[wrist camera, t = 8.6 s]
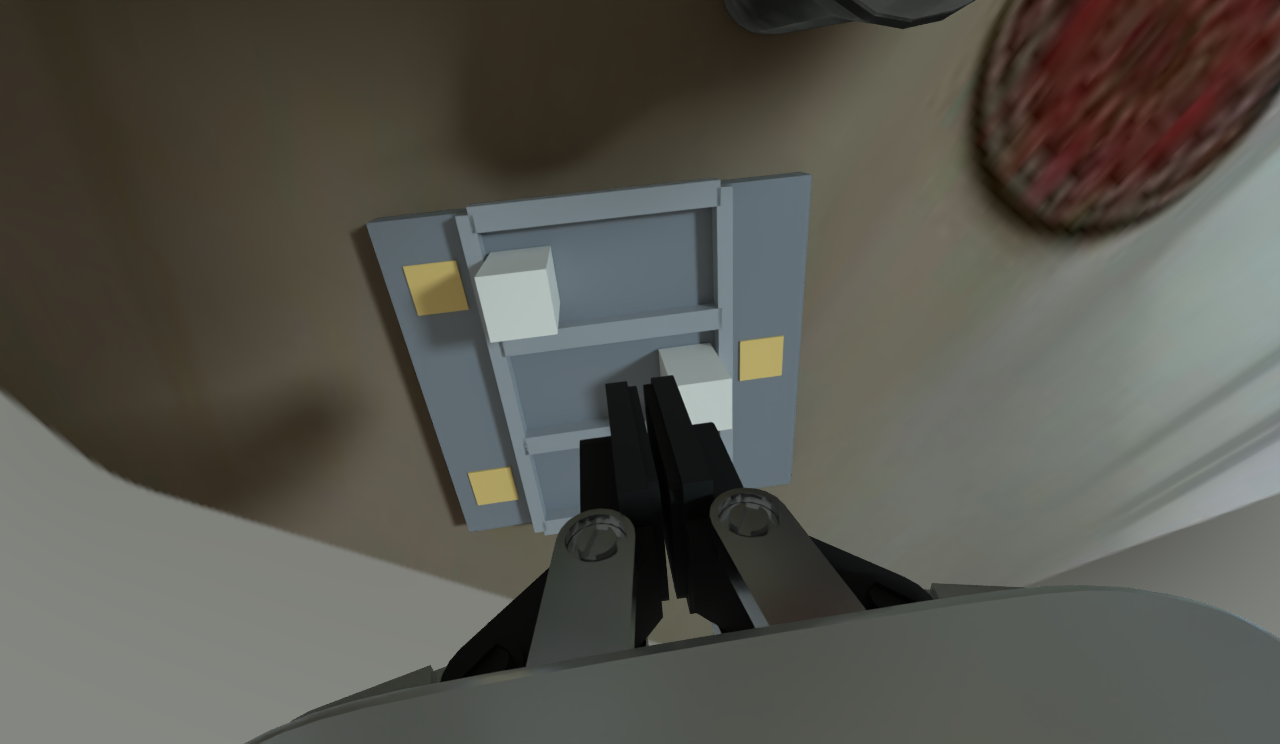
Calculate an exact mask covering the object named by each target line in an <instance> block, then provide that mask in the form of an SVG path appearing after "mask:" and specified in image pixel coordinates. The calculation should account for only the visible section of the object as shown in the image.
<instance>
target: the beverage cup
mask: <svg viewBox="0 0 1280 744" xmlns="http://www.w3.org/2000/svg"><path fill="white" fill-rule="evenodd" d="M973 1H975V0H724V3H725V5H726V8H727V11H728V12H729V13H730V15H731V16H732V17H733V19H734V20H735V21H736V23H737V24H738V25H740V26H741V27H743V28H745V29H746V30H748V31H749V32H753V33H759V34H764V35H765V34H769V33H771V34H781V33H787V32H793V31H799V30H805V29H811V28H817V27H823V26H828V25H834V24H840V23H846V22H852V21H859V22H865V23H872V24H878V25H884V26H889V27H895V28H900V29H905V28H909V27H914V26H918V25H923V24H927V23H932V22H936V21H941V20H943V19H945V18H947V17H948V16H950V15H952V14H953V13H955V12H957V11H958V10H960V9H962V8H963V7H965V6H967V5H968V4H970V3H972V2H973Z"/></svg>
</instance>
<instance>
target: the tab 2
mask: <svg viewBox="0 0 1280 744" xmlns="http://www.w3.org/2000/svg"><path fill="white" fill-rule="evenodd" d="M658 351H659V364H660V377H661V376H669V375H673V376H674V378H675V381H676V384H677V386H678V389H679V391H680V394H681V397H682V399H683V402H684V404H685V407H686V410H687V412H688V415H689V417H690V420H691V423H692V425H693V424H701V423H708V422H713V423H714V424H715V426H716V428H717V430H718V431H721V430H728V429H732V378H731V376H730V374H729V373H728V371H727V370H726V368H725V366H724V365H723V363H722V362H721V360H720V358H719V357H718V355H717V353H716V352H715V350H714V349H713V347H712V345H711V344H710V343H702V344H695V345H687V346H679V347H672V348H664V349H658Z"/></svg>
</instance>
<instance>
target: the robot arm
mask: <svg viewBox="0 0 1280 744" xmlns="http://www.w3.org/2000/svg"><path fill="white" fill-rule="evenodd" d="M605 388H606V397H607V406H608V415H609V424H610V433H611V436H606V437H598V438H591V439H584V440H580V514H577V515H576V516H574V517H573V518H571V519H570V520H568V521H567V522H566V523H565V525H564V526H563V527H562V528H561V529H560V531H559V534H558V536H557V538H556V542H555V547H554V551H553V555H552V559H551V563H550V567H549V568H548V569H547V570H546V571H545V572H544V573H543V574H542V575H540V576H539V577H538V578H537V579H536V580H535V581H534V582H533V583H532V584H531V585H530V586H528V587H527V588H526V589H525V590H524V591H523V592H522V593H521V594H520V595H519V596H518V597H516V598H515V599H514V600H513V601H512V602H511V603H510V604H509V605H508V606H507V607H506V608H504V609H503V610H502V611H501V612H500V613H499V614H498V615H497V616H496V617H495V618H494V619H492V620H491V621H490V622H489V623H488V624H487V625H486V626H485V627H484V628H482V629H481V630H480V631H479V632H478V633H477V634H476V635H475V636H474V637H473V638H472V639H470V640H469V641H468V642H467V643H466V644H465V645H464V646H463V647H462V648H461V649H460V650H459V651H458V652H457V653H456V654H455V656H454V657H453V658H452V659H451V660H450V661H449V663H448V665H447V666H446V667H444V668H441V669H438V670H436V671H433V669H432V667H431V665H430V666H427V667H424V668H422V669H419V670H416V671H414V672H411V673H409V674H406V675H403V676H401V677H398V678H395V679H393V680H390V681H388V682H385V683H382V684H379V685H377V686H375V687H372V688H369V689H367V690H364V691H361V692H359V693H356V694H353V695H350V696H348V697H345V698H342V699H340V700H337V701H335V702H332V703H329V704H327V705H324V706H321V707H319V708H316V709H314V710H311V711H309V712H307V713H305V714H303V715H301V716H299V717H297V718H296V719H294V720H292V721H291V722H290V723H287V724H285V725H282V726H280V727H277V728H275V729H272V730H270V731H268V732H266V733H264V734H262V735H260V736H258V737H256V738H254V739H252V740H250V741H248V742H246V743H244V744H1280V638H1279V637H1277V636H1276V635H1274V634H1272V633H1271V632H1269V631H1267V630H1265V629H1264V628H1262V627H1260V626H1258V625H1256V624H1254V623H1252V622H1250V621H1248V620H1246V619H1244V618H1242V617H1240V616H1238V615H1235V614H1233V613H1231V612H1228V611H1226V610H1223V609H1221V608H1218V607H1215V606H1212V605H1209V604H1206V603H1202V602H1199V601H1195V600H1192V599H1187V598H1183V597H1179V596H1175V595H1171V594H1165V593H1159V592H1152V591H1146V590H1140V589H1134V588H1126V587H1111V586H1094V585H1061V586H1060V585H1058V586H1041V587H1030V588H1023V587H1002V586H980V585H959V584H937V583H932V585H931V588H930V590H924V589H923V588H921V587H920V586H919V585H918V584H916V583H914V582H912V581H911V580H909V579H907V578H905V577H903V576H901V575H899V574H896V573H894V572H892V571H889V570H887V569H885V568H882V567H880V566H878V565H875V564H873V563H871V562H868V561H866V560H864V559H862V558H859V557H857V556H855V555H852V554H850V553H848V552H845V551H843V550H841V549H838V548H836V547H834V546H831V545H829V544H827V543H824V542H822V541H820V540H818V539H815V538H813V537H811V536H808V534H807V533H806V532H805V531H804V529H803V528H802V527H801V525H800V524H799V523H798V522H797V520H796V519H795V518H794V516H793V515H792V514H791V513H790V511H789V510H788V509H787V507H786V506H785V505H784V504H783V503H782V502H781V501H780V500H779V499H778V498H777V497H775V496H774V495H772V494H770V493H768V492H766V491H762V490H759V489H755V488H744V487H743V485H742V482H741V480H740V478H739V476H738V474H737V472H736V469H735V467H734V465H733V463H732V461H731V458H730V456H729V454H728V452H727V450H726V448H725V445H724V443H723V441H722V439H721V437H720V434H719V432H718V430H717V428H716V426H715V424H714V423H713V422H708V423H701V424H693V425H692V423H691V420H690V417H689V415H688V412H687V410H686V407H685V404H684V402H683V399H682V397H681V394H680V391H679V389H678V386H677V384H676V381H675V378H674V376H673V375H669V376H661V377H654V378H651V384H645V385H643V392H644V403H645V414H646V425H647V430H646V425H645V421H644V417H643V412H642V408H641V403H640V399H639V395H638V390H637V386H629V387H628V384H627V381H623V382H615V383H607V384H605ZM664 540H665V543H664ZM665 545H666V550H667V554H668V559H669V564H670V569H671V573H672V578H673V583H674V588H675V592H676V596H677V599H679V598H685V597H686V598H687V603H688V607H689V611H690V614H693V613H697V614H699V615H701V616H702V617H704V618H706V619H707V620H709V621H711V622H712V628H713V632H714V635H711V636H705V637H699V638H693V639H687V640H681V641H675V642H669V643H663V644H657V645H651V646H649V644H648V636H649V634H650V633H651V632H652V630H653V629H654V628H655V627H656V625H657V624H658V623H659V622H660V620H661V619H662V618H663V612H662V602H661V601H667V600H669V590H668V578H667V566H666V555H665Z"/></svg>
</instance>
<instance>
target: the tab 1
mask: <svg viewBox="0 0 1280 744" xmlns="http://www.w3.org/2000/svg"><path fill="white" fill-rule="evenodd" d="M474 278H475V282H476V286H477V290H478V294H479V298H480V302H481V306H482V310H483V314H484V318H485V322H486V326H487V330H488V335H489V339H490V343H493V342H500V341H508V340H516V339H524V338H532V337H540V336H548V335H555V334H558V323H559V310H560V298H559V293H558V287H557V281H556V275H555V269H554V263H553V257H552V252H551V246H542V247H534V248H525V249H516V250H507V251H499V252H490V254H489V255H488V257H487V259H486V260H485V262H484V263H483V265H482V266H481V268H480V269H479V271H478V272H477V274H476V276H475V277H474Z"/></svg>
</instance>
